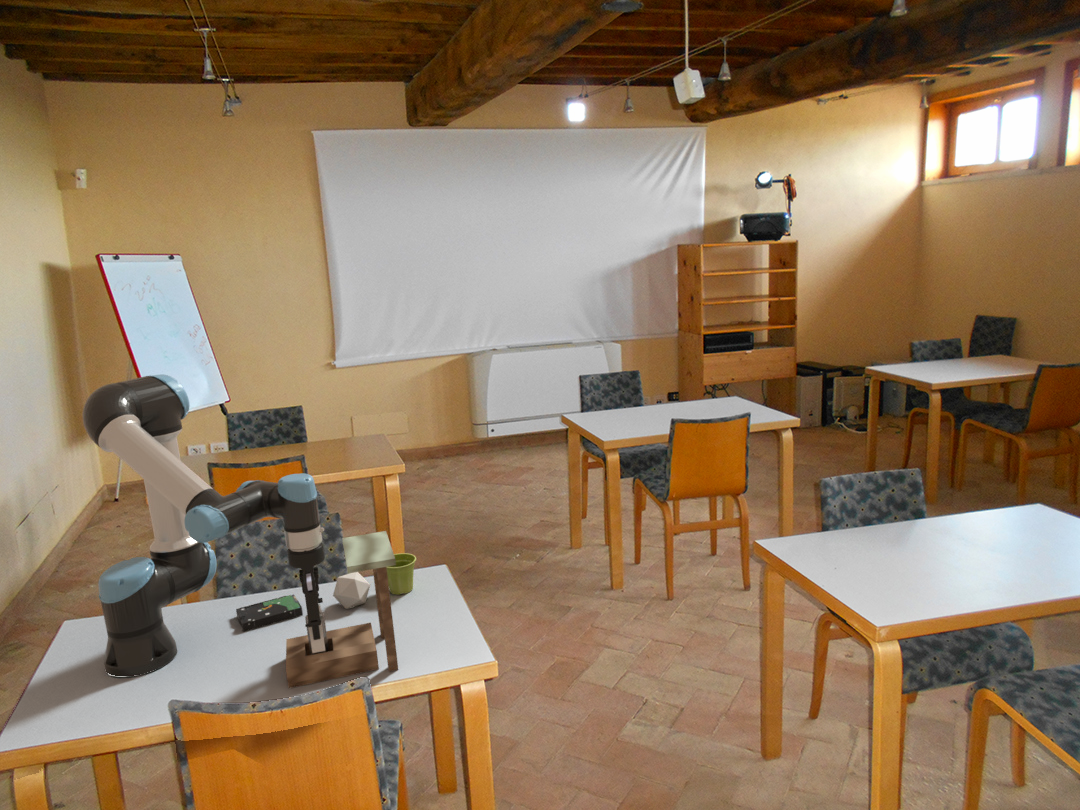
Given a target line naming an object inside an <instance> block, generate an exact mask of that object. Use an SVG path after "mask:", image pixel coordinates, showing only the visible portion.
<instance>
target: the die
mask: <svg viewBox="0 0 1080 810" xmlns="http://www.w3.org/2000/svg"><path fill="white" fill-rule="evenodd" d="M370 587H371V584H370V583H369V582H368V581H367V580H366V579H365V578H364V576H363V575H362V574H360V573H359V572H354V573H349V574H348V573H347V574H343V575H340V576H338V577H337V580H336V583H335V587H334V591H333V595H332V597H334V598H335V599H336V601H337V602H339V604H340V605H342V607H343V608H344V609H346V610H348V609H352V608H354V607H358V606H361V605H364V604H366V601H367V598H368V595H369V591H370Z"/></svg>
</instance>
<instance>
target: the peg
mask: <svg viewBox="0 0 1080 810" xmlns="http://www.w3.org/2000/svg"><path fill="white" fill-rule="evenodd" d="M304 618H305V624H308V616H307V614H306V615H305V616H304ZM320 620H321V622H322V629H323V637H324V644H325V651H321V652H316V653H312V647H311V640H310V632H309V627H306V631H307V634H306V635H308V641H309V648H310V655H314V654H319V653H324V652H328V651H329V647H328V640H327V633H326V631H327V628H326V627H327V625H326V619H325V613H324V612H322V611H321V612H320Z"/></svg>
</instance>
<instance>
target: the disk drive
mask: <svg viewBox="0 0 1080 810" xmlns="http://www.w3.org/2000/svg"><path fill="white" fill-rule="evenodd" d="M235 611H236V612H235V613H236V617H237V619H238V622H239V624H240V628H241V630H242V632H248V631H251V630H252V631H253V630H255V629H258V628H261V627H266V626H269V625H273V624H276V623H280V622H283V621H287V620H290V619H291V620H292V619H294V618H299V617H301V616H304V613H303V611H304V610H303V607H302V605H301V603H300V602H299V600H298V598H297V597H296V595H295V594H289V595H283V596H280V597H276V598H272V599H269V600H264V601H261V602H257V603H253V604H250V605H245V606H241V607H238V608H236V610H235Z"/></svg>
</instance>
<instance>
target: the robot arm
mask: <svg viewBox="0 0 1080 810" xmlns="http://www.w3.org/2000/svg"><path fill="white" fill-rule="evenodd" d="M189 412H190V399H189V396H188V393H187V391H186V390H185V388H184V387H183V385H182V384H181V383H180V382H178V380H177V379H176V378H174V377H172V376H170V375H168V374H155V375H154V374H153V375H152V374H151V375H145V376H142V377H137V378H133V379H128V380H123V381H119V382H112V383H108V384H105V385H102V386H100V387H98V388H96V389H95V390H94V391H93V392H91V394H90V395H89V396H88V398H87V400H85V403H84V406H83V409H82V423H83V427H84V429H85V431H86V434H87V435H88V438H90V440H91V441H93V443H94V444H95V445H96V446H97V447H99V448H100V449H101V450H102V451H104V452H106V453H113V454H114V455H116V456H117V457H118V458H119V459H120V460H122V462H124V463H125V464H126V465H127V466H128V467H130V468H131V469H132V470H133V471H134V472H135V473H136V474H137V475H139V476H140V477H141V478H142V479H143V484H144V487H145V488H144V489H145V494H146V499H147V505H148V509H149V515H150V521H151V525H152V526H151V528H152V530H153V531H152V532H153V536H154V537H153V538H154V540H153V541H152V542H151V544H150V546H149V554H150V558H149V556H148V557H147V556H136V557H131V558H130V559H124V560H122V561H119V562H117V563H115V564H113V565H112V566H109V567H108V568H106V570H104V571H103V572H102V573H101V574H100V576H99V580H98V584H97V586H98V587H97V588H98V598H99V601H100V603H101V608H102V613H103V618H104V623H105V624H104V625H105V629H106V634H107V642H106V648H105V654H104V659H103V666H104V671H105V670H106V671H105V673H106V672H107V673H109V674H111V675H115V676H134V675H139V676H141V675H140V674H143V675H145V674H144V673H146V674H148V673H147V672H149V673H151V672H150V671H152V672H154V671H156V670H155V669H157V670H159V669H161V668H163V667H164V666H166V665H168V664H169V663H170V662H172V661H173V660H174V659H175V658H176V656H177V654H178V646H177V643H176V640H175V638H174V637H173V635H172V634H171V632H170V630H169V629H168V627H167V625H166V623H165V622H164V616H163V612H162V609H163V608H164V607H166V606H168V605H170V604H173V603H174V602H176V601H178V600H181V599H183V598H185V597H186V596H189V595H190V594H193V593H196V592H198V591H199V590H200V589H203V588H204V587H206V586H207V585H208V584H210V583H211V581H212V580H213V579H214V577H215V575H216V572H217V562H218V561H217V558H216V553H215V551H214V550H213V549H212V546H211V545H210V544H209V542H212V541H215V540H218V539H221V538H223V537H225V536H226V535H229V534H231V533H233V532H235V531H237V530H239V529H241V528H244V527H246V526H249V525H251V524H254V523H255V522H258V521H260V520H262V519H264V518H274V519H282V522H283V533H284V539H285V546H286V548H287V549H286V550H287V552H286V553H287V559H288V564H289V566H290V567H291V568H294V569H298V573H299V574H298V576H299V581H300V583H301V584H300V585H301V591H302V593H303V594H304V599H305V608H306V615H307V616H308V624H306V623H305V624H304V625H305V628H307V627H309V632H310V640H311V647H312V653H316V652H321V651H325V644H324V637H323V629H322V622H321V620H320V612H322V608H321V607H322V606H321V603H324V602H323V597H320V593H319V591H320V585H319V579H320V576H319V569H318V568H319V567H318V566H317V565H319V564H320V565H321V564H322V563H323V562H324V561H325V556H326V555H325V554H326V553H325V549H324V548H325V547H324V543H323V536H322V533H323V532H324V531H325V528H324V527H321V520H320V519H321V518H320V512H319V503H318V502H319V501H318V492H317V488H316V483H315V480H314V477H313V476H312V475H311V474H308V473H293V474H287V475H285V476H282V477H281V478H279V480H278V481H277V482H274V481H273V482H271V481H265V480H260V479H257V480H247V481H244V482H243V483H241V484H240V486H239V487H237V489H236V491H234V492H231V493H229V494H226V495H222V494H220V493H219V492H218V491H217V490H215V489H214V488H213V487H212V486H210V484H208V483H206V481H205V480H203V478H201V477H200V476H199V475H198V474H196V473H195V472H194V471H193V470H192V469H191V468H190V467H188V466H187V465H186V464H185V463H184V462H183V461H182V459H181V455H180V453H181V452H180V449H179V442H178V436H179V435H180V433H181V432H182V431H183V425H182V420H183V419H185V418H186V417H187V416H188V415H189ZM167 663H168V664H167ZM162 666H163V667H162ZM160 667H161V668H160ZM158 668H159V669H158ZM153 670H154V671H153ZM107 673H106V674H107ZM134 677H135V676H134Z"/></svg>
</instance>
